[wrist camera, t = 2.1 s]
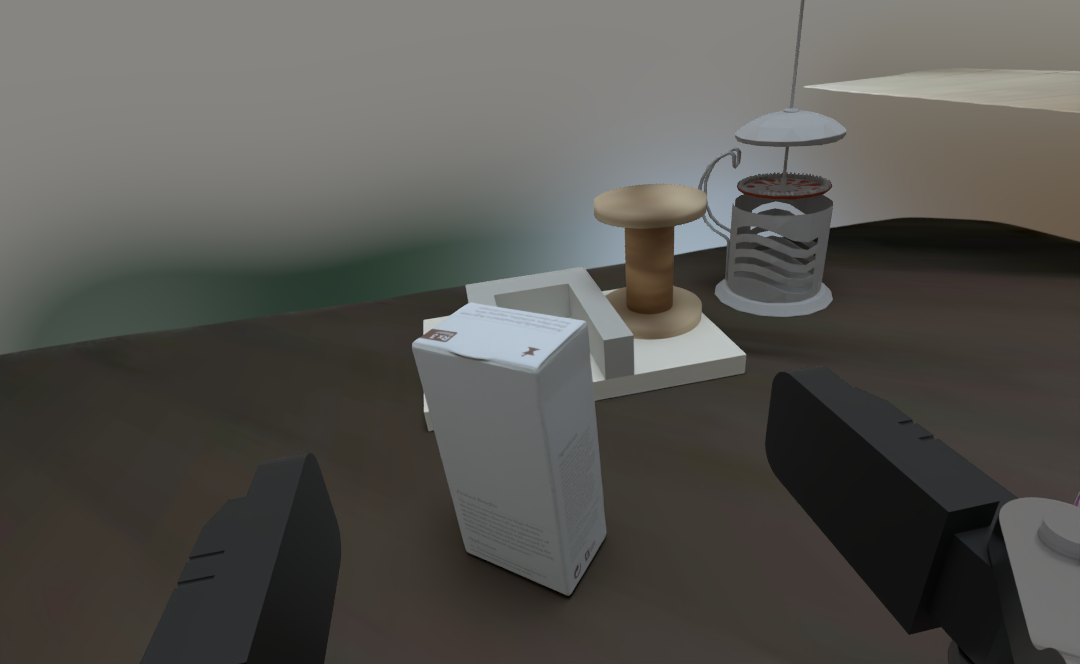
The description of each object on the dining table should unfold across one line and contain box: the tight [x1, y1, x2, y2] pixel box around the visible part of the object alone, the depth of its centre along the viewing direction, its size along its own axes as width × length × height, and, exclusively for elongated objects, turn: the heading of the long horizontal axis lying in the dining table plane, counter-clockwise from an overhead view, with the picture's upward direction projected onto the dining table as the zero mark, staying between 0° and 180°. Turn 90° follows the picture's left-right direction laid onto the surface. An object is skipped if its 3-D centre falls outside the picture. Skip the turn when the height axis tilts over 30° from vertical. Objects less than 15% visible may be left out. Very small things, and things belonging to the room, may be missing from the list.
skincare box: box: [412, 302, 606, 596], centre depth 25 cm, size 6×4×12 cm
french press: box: [698, 0, 847, 317], centre depth 45 cm, size 10×12×25 cm
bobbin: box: [594, 184, 707, 340], centre depth 43 cm, size 8×8×10 cm
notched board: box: [424, 267, 746, 431], centre depth 43 cm, size 22×14×4 cm, turn 100°
